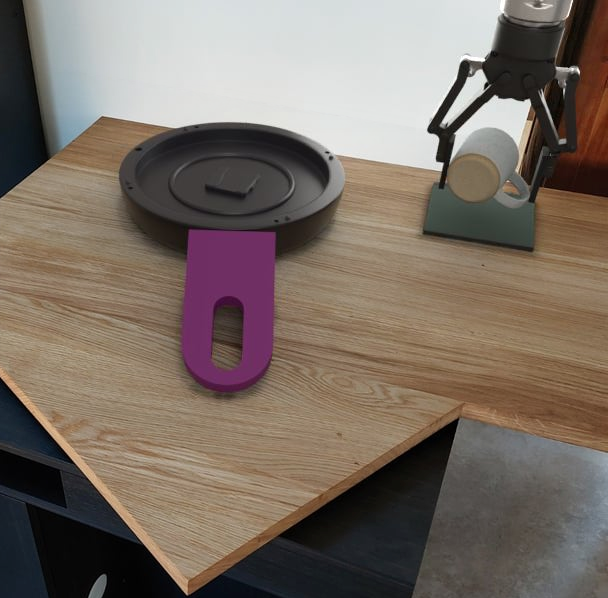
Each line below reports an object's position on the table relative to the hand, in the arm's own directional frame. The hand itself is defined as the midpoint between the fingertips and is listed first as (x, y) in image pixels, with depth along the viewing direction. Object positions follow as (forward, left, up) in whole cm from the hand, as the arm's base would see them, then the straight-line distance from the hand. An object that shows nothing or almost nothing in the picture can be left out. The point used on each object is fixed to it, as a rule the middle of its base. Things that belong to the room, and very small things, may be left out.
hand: (486, 191), depth 103 cm
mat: (0, 0, -4) cm, 4 cm away
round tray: (+33, +8, -4) cm, 34 cm away
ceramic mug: (0, 0, -1) cm, 1 cm away
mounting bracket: (+25, +36, -4) cm, 44 cm away
